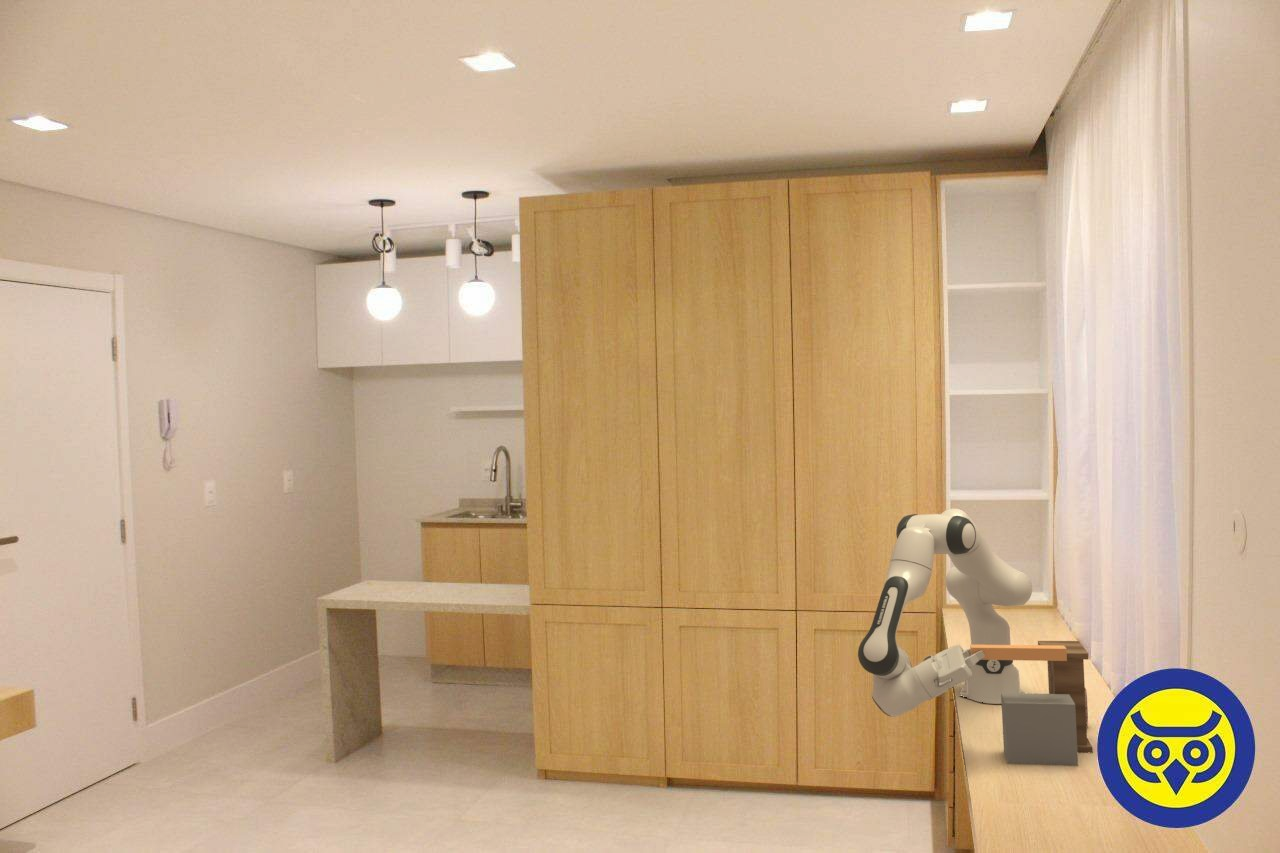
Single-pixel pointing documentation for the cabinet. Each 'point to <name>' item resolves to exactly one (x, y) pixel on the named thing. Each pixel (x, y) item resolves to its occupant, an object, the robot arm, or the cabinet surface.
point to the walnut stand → (1071, 685)
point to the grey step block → (1039, 729)
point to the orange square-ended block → (1022, 652)
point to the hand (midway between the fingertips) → (982, 650)
